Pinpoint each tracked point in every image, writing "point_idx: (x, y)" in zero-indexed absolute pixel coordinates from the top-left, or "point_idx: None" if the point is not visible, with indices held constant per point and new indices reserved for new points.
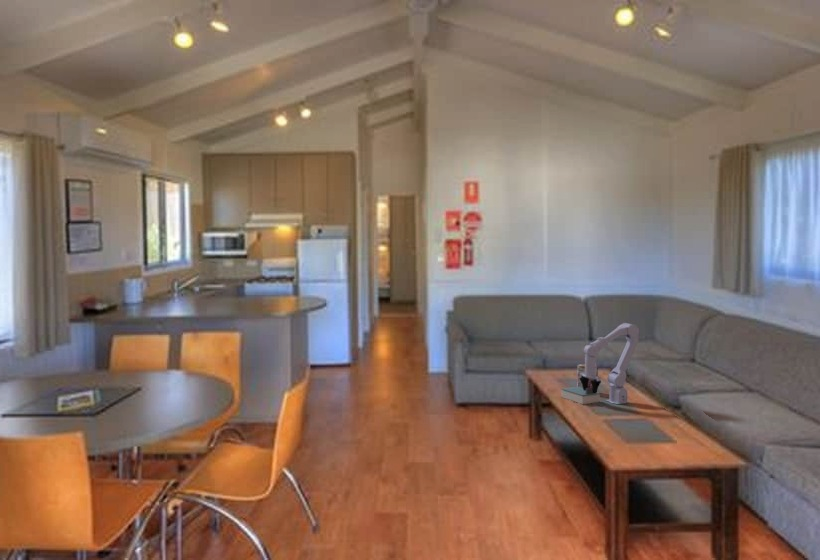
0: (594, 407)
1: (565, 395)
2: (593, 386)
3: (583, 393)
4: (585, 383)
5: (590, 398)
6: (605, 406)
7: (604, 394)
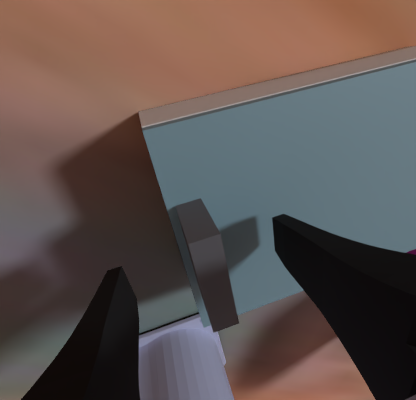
0: (24, 180)
1: (390, 55)
2: (60, 356)
3: (221, 179)
4: (330, 289)
5: None
6: (59, 272)
7: (330, 329)
